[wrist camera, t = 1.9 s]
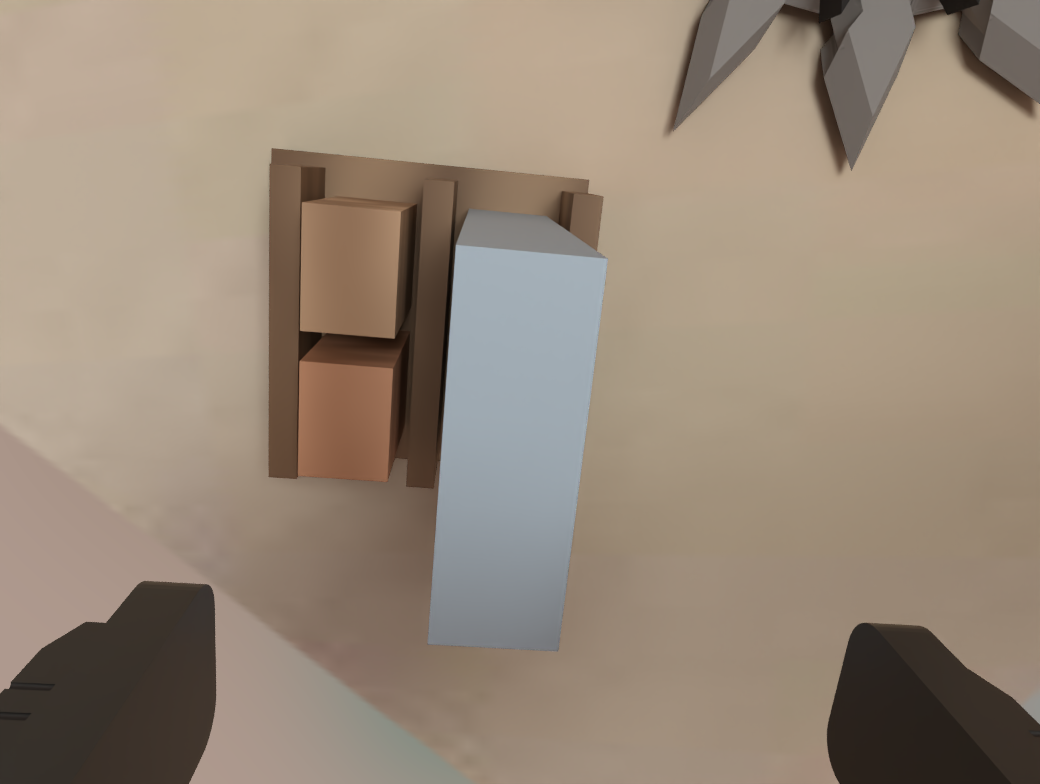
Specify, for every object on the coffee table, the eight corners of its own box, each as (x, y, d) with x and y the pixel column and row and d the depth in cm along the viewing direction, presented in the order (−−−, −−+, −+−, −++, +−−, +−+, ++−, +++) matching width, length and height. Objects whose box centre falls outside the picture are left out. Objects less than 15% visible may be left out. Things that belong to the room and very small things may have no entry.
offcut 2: (409, 331, 30) (392, 368, 24) (404, 425, 31) (387, 481, 26) (334, 324, 30) (299, 361, 24) (331, 419, 31) (297, 475, 25)
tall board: (546, 216, 29) (608, 258, 15) (524, 433, 32) (558, 650, 17) (469, 208, 29) (455, 245, 15) (452, 428, 31) (427, 644, 17)
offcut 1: (417, 203, 29) (400, 211, 23) (411, 306, 30) (394, 338, 24) (338, 195, 29) (301, 202, 23) (335, 300, 30) (299, 330, 24)
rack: (584, 179, 30) (605, 181, 25) (552, 456, 34) (565, 509, 28) (281, 149, 29) (237, 144, 24) (279, 436, 33) (240, 487, 28)
